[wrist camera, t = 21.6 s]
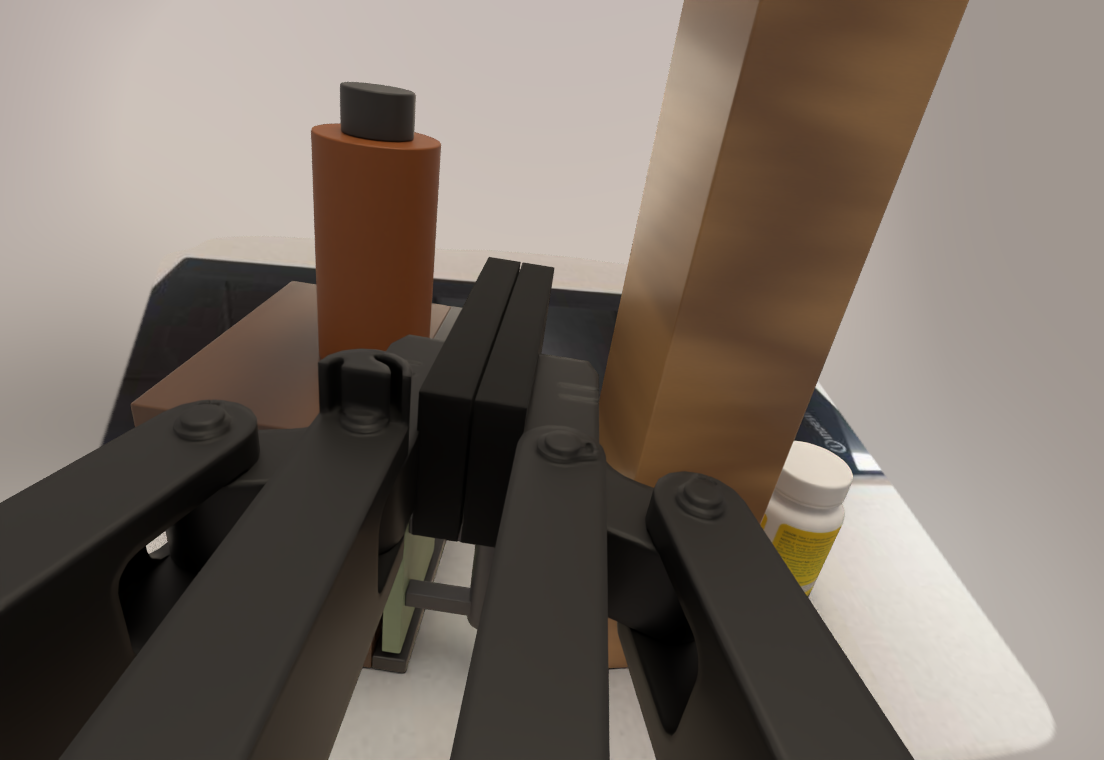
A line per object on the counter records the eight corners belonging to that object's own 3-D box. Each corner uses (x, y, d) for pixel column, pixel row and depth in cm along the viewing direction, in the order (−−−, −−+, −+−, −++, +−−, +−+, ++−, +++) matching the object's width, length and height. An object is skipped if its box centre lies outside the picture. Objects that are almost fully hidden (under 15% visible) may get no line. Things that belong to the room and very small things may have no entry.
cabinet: (462, 489, 39) (479, 310, 33) (405, 674, 27) (417, 449, 22) (302, 463, 39) (292, 280, 33) (177, 639, 27) (129, 403, 21)
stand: (666, 570, 35) (938, -283, 19) (705, 664, 30) (1129, -400, 13) (562, 571, 34) (755, -341, 17) (585, 670, 29) (889, -496, 12)
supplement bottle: (820, 592, 35) (878, 473, 31) (777, 631, 32) (836, 505, 28) (749, 541, 38) (794, 427, 34) (703, 573, 35) (747, 452, 31)
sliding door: (510, 560, 32) (535, 400, 28) (492, 668, 27) (519, 488, 22) (419, 546, 32) (429, 383, 28) (381, 651, 27) (386, 468, 22)
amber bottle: (446, 346, 29) (464, 97, 24) (394, 389, 25) (402, 101, 20) (359, 321, 30) (358, 76, 25) (295, 359, 26) (279, 76, 21)
